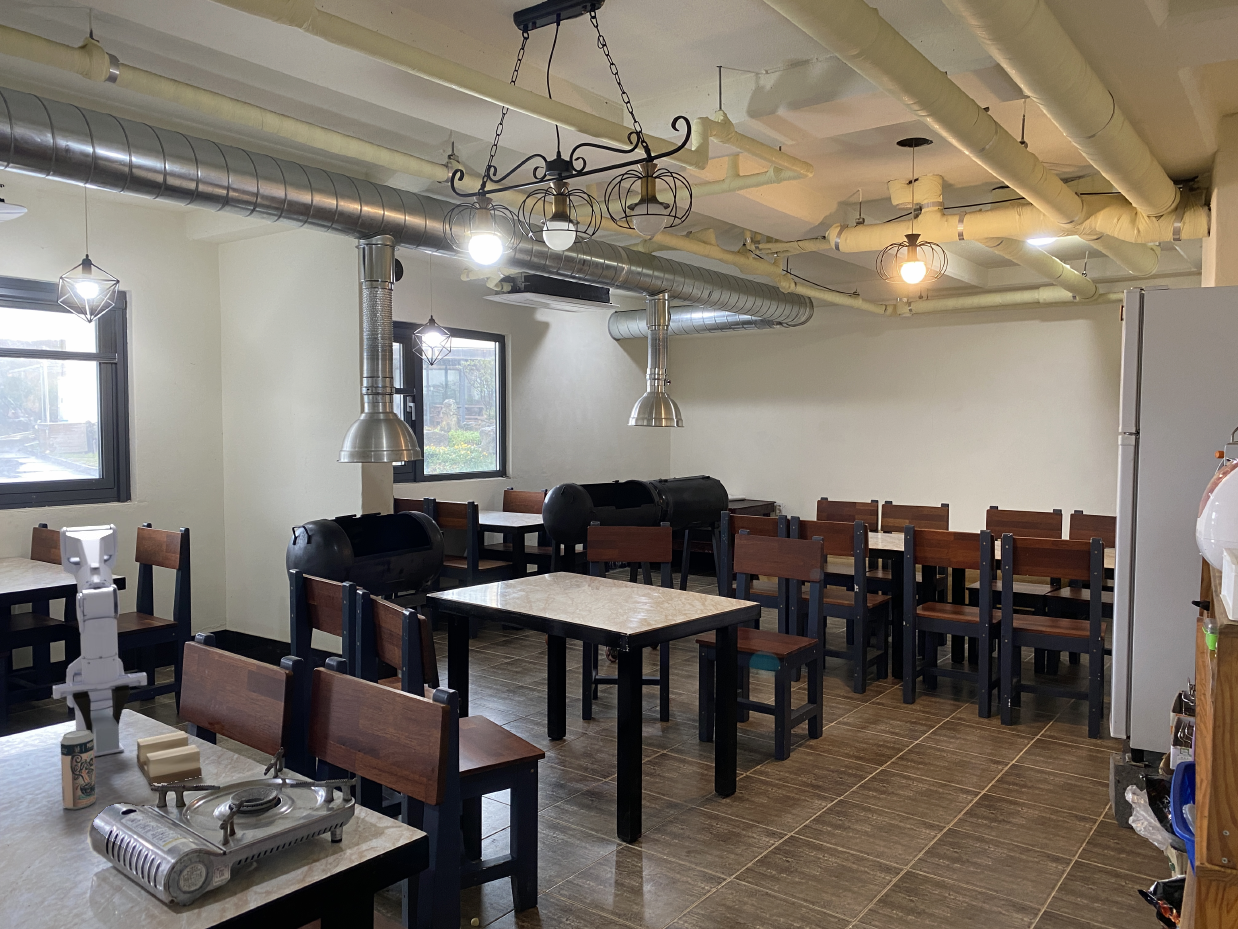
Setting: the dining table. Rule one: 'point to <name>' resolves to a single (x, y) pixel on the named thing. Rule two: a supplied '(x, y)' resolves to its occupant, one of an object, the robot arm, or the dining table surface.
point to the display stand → (168, 758)
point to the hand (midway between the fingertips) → (102, 731)
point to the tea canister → (78, 769)
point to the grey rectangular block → (104, 731)
